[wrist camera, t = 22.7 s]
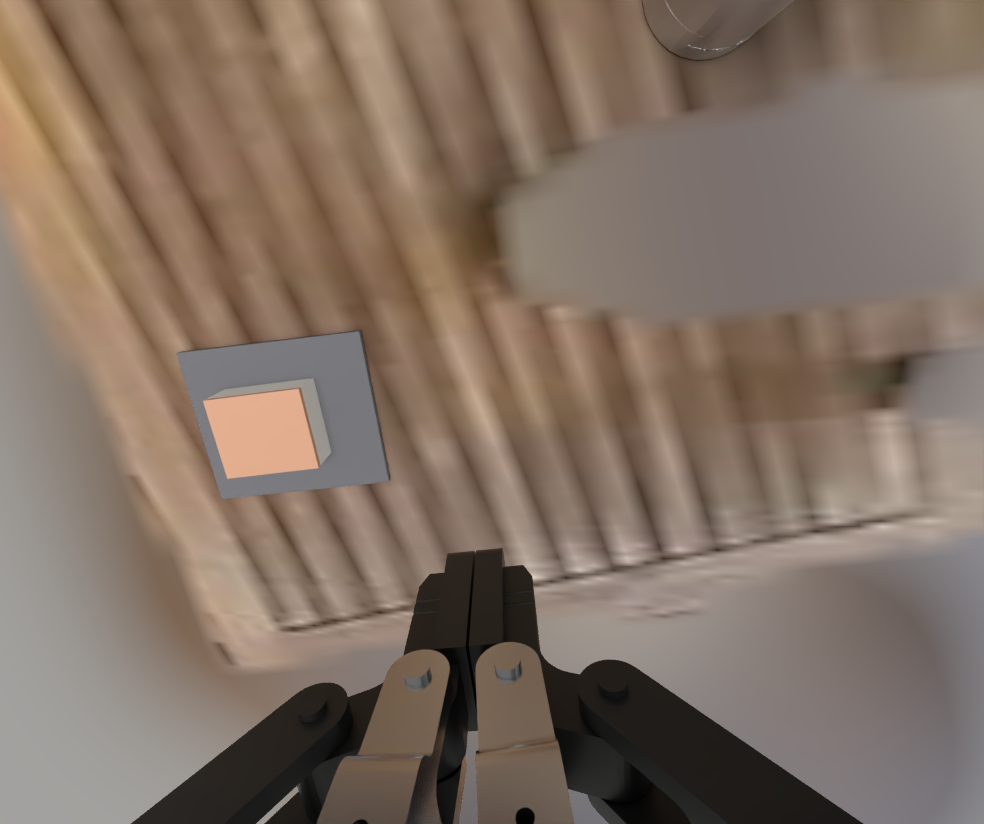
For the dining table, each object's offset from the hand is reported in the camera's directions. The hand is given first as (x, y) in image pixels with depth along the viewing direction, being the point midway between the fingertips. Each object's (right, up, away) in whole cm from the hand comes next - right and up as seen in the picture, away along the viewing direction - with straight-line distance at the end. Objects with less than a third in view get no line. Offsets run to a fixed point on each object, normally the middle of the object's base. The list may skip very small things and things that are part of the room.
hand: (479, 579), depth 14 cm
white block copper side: (-15, +4, +30) cm, 34 cm away
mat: (-18, +4, +33) cm, 37 cm away
